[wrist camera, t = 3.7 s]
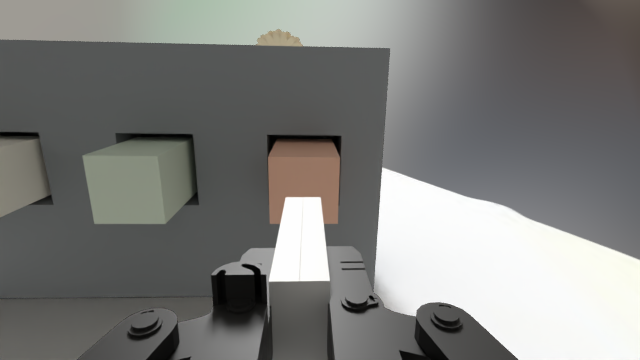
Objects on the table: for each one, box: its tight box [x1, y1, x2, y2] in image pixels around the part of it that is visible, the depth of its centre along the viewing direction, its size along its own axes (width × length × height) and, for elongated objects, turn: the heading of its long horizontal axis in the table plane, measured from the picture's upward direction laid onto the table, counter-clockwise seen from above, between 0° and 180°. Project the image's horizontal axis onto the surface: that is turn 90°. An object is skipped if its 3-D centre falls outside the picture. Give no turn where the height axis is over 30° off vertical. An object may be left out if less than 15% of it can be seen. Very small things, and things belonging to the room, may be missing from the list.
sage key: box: [82, 137, 198, 224], centre depth 25 cm, size 4×7×4 cm, turn 2°
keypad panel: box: [0, 40, 390, 298], centre depth 30 cm, size 34×8×20 cm, turn 92°
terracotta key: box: [268, 139, 340, 224], centre depth 25 cm, size 4×7×4 cm, turn 2°
